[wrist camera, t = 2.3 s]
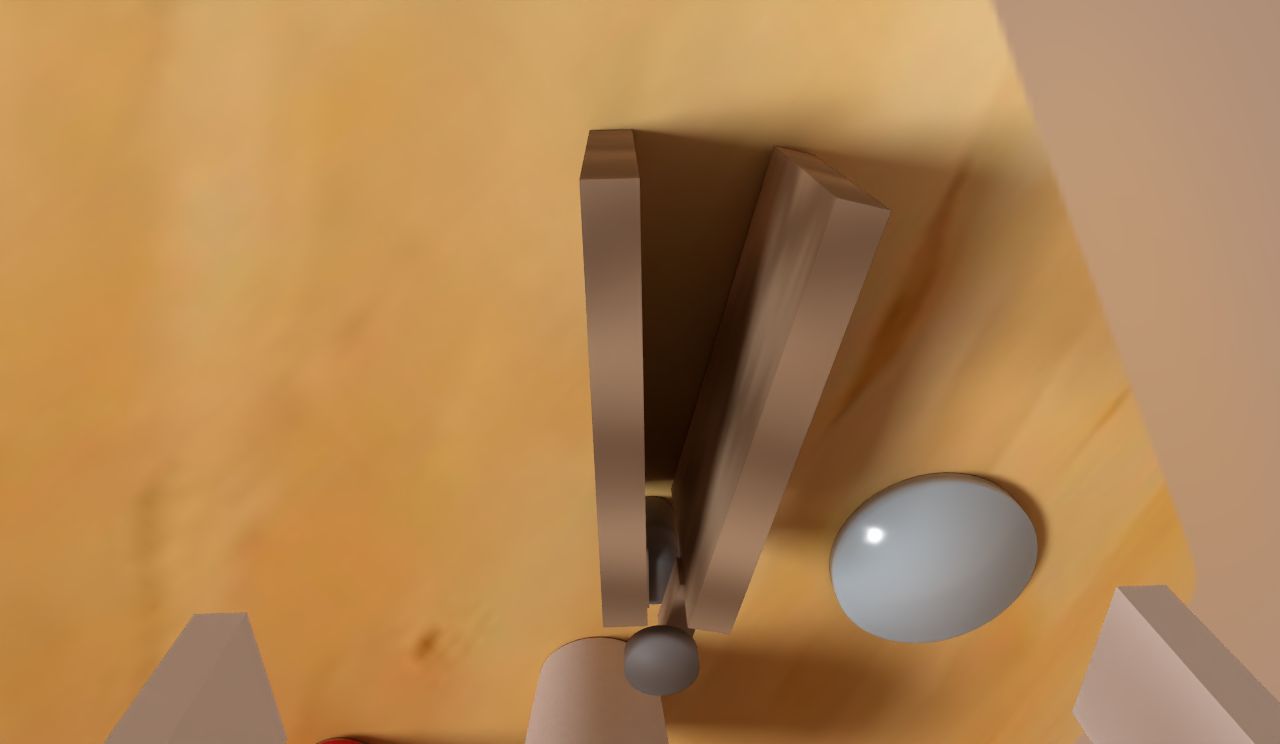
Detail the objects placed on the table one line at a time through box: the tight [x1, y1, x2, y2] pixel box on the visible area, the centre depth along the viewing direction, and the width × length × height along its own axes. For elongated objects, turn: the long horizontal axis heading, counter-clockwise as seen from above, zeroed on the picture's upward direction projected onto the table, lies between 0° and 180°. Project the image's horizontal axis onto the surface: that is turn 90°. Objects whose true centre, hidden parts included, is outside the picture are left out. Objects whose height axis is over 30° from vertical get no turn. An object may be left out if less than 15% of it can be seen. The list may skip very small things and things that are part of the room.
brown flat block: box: [580, 129, 699, 696], centre depth 28 cm, size 19×4×9 cm, turn 1°
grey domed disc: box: [829, 473, 1038, 643], centre depth 37 cm, size 10×10×1 cm
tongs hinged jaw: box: [658, 146, 891, 637], centre depth 28 cm, size 19×2×9 cm, turn 167°
